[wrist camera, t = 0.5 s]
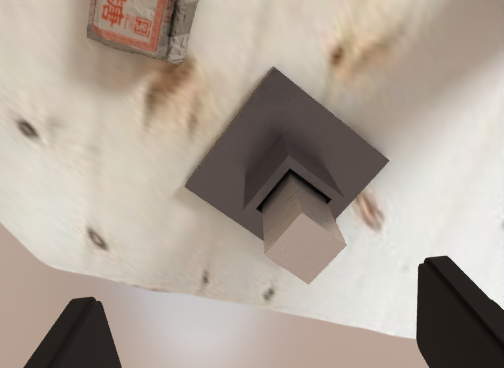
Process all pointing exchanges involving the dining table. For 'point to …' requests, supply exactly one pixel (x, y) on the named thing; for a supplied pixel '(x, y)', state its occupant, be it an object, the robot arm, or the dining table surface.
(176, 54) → the packaged product
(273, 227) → the column
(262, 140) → the stand housing
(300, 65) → the dining table surface
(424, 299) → the robot arm
